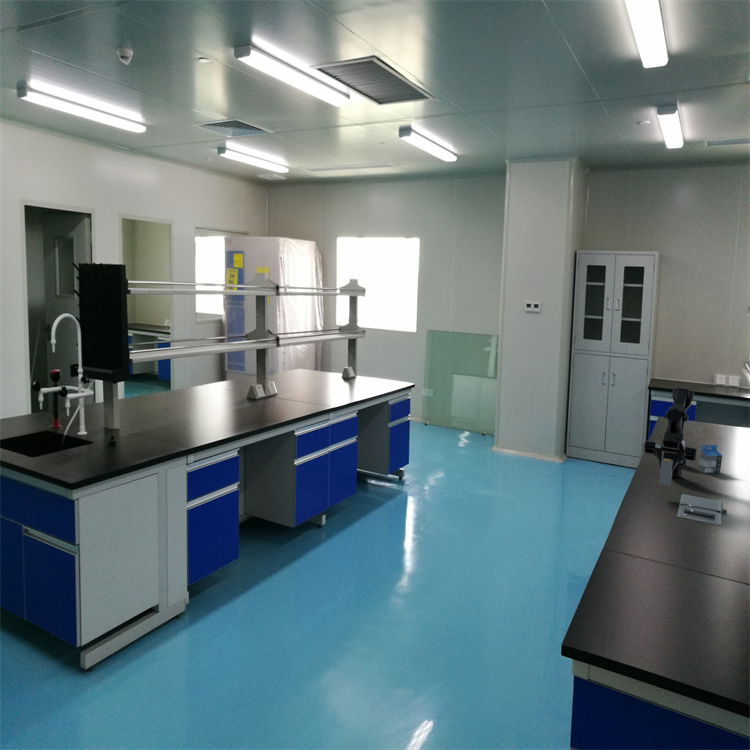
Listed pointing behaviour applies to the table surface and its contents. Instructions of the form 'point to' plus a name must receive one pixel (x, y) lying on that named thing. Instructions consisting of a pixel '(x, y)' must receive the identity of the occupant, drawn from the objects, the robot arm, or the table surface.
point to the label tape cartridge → (710, 459)
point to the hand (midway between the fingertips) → (666, 468)
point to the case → (700, 509)
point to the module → (666, 472)
